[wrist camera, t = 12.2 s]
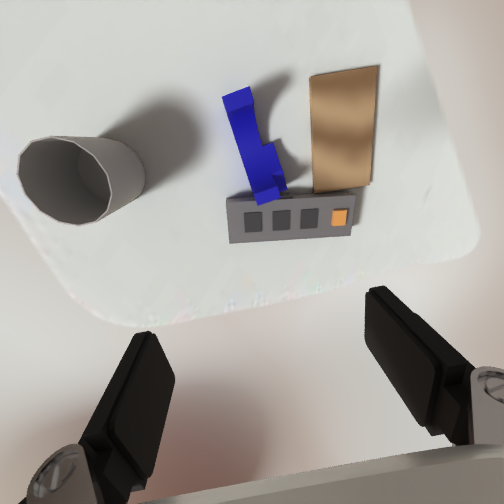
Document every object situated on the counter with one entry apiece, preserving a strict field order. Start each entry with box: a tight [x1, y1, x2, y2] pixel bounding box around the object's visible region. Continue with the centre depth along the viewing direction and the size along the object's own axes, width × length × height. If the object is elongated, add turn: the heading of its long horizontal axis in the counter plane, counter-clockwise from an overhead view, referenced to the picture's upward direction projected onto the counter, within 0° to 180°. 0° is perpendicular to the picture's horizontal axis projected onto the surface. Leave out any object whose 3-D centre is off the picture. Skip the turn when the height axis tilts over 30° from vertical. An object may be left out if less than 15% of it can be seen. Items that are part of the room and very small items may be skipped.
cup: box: [17, 136, 146, 226], centre depth 28 cm, size 8×8×10 cm
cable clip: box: [222, 86, 287, 206], centre depth 30 cm, size 12×4×6 cm, turn 18°
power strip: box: [226, 192, 356, 244], centre depth 35 cm, size 18×6×4 cm, turn 92°
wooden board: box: [309, 66, 377, 194], centre depth 32 cm, size 14×8×1 cm, turn 8°
